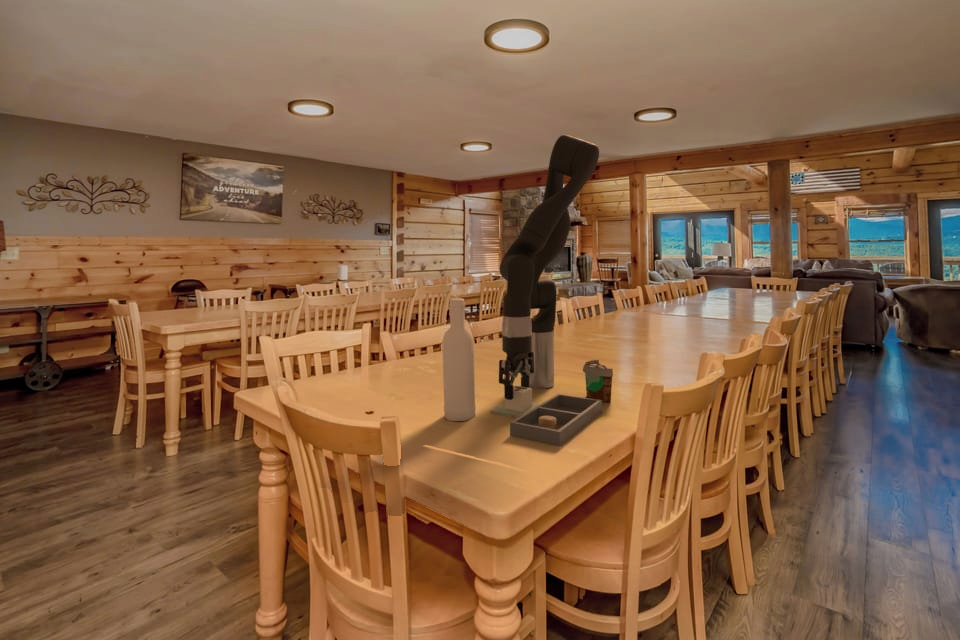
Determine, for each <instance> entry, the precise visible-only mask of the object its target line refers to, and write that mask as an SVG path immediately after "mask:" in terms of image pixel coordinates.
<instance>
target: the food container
mask: <svg viewBox="0 0 960 640" xmlns="http://www.w3.org/2000/svg"><path fill="white" fill-rule="evenodd" d="M582 372H583V373H584V376H585V388H586V389H585V391H586V398H590V399H597V400H602V403H608V404H609V403H612V389H613V388H612V384H613V377H614V372H613V368H607V367H606V366H605V365H603V364H601V363H600V360H599V359H593V360H588V361H585V363H584V364H583V367H582Z"/></svg>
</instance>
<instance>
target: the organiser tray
mask: <svg viewBox="0 0 960 640" xmlns="http://www.w3.org/2000/svg"><path fill="white" fill-rule="evenodd" d="M602 403H603V402H602V400H597V399H590V398H587V397H584V396H583V397H582V396H575V395H568V394H561V393H557V394H555V395H554V396H552V397H550V398H549V399H547V400H546V401H544V402H541V403H539V404H540V405H538V406H537V407H535V408H533V409H532V410H530V411H528V412H526V413H525V414H523V415H521V416H520V417H518V418H515V419H513V420H511V421H509V436H510V437H514V438H519V439H524V440H527V441H533V442H538V443H543V444H547V445H551V446H552V445H553V446H556V447H561V446H562V445H563V444H565V443H566V442H567V441H568V440H569V439H571V438H572V437H573V436H574V435H576V434H577V433H578V432H580V431H581V430H582V429H583V428H584V427H585V426H587V425H588V424H589V423H591V422H592V421H593V420H594V419H595V418H597V416H599V415H600V414H601V413H603V412H602V410H603V409H602V408H603V404H602ZM541 416H553V417H555V418H556V430H555V429H549V428H544V427H539V417H541Z"/></svg>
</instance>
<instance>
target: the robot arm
mask: <svg viewBox="0 0 960 640" xmlns="http://www.w3.org/2000/svg"><path fill="white" fill-rule="evenodd" d="M599 157H600V148H599V146H598V145H597V144H595V143H592V142H589V141H586V140H584V139H580V138H578V137H575V136H572V135H568V134H562V135H560V136H559V137H558V138H557V139H556V141H555V142H554V145H553V147H552V150H551V153H550V158H549V163H548V169H547V175H546V181H545V182H546V183H545V188H544V192H543V193H544V194H543V198H542V202H541V203H540V204H538V205H537V206H536V207H535V208H534V209H533V210H532V211H531V212H530V214H529V216H528V217H527V219H526V220H525V223H524V224H523V226H522V228H521V231H520V233H518V234H519V235H518V236H517V238H516V240H515V239H514V242H513V243H512V244H511V245H510V247H509V248H508V250H507V251H506V252H505V254H504V256H503V257H502V260H501V261H500V265H499V272H500V275H501V277H502V279H503V280H505V281H507V286H506V293H505V294H504V295H503V299H502V315H503V316H502V322H501V323H502V325H501V330H502V331H501V334H502V335H501V336H502V337H501V341H502V342H501V344H502V345H501V346H502V348H501V349H502V351H503V352H504V353H506V358H505V359H499V361H498V383H499V384H500V385H504V388H503V389H504V394H503V395H504V399H505V400H506V399H508V400H512V399H513V387H514V382H515V381H516V378H518V377H519V375H520V386H521V387H527V388H532V389H550V388H553V387H554V386H555V323H556V314H557V313H556V312H557V311H556V310H557V295H558V294H557V286H556V282H555V281H554V280H553V279H552V278H549V277H541V275H542V274H543V272H544V271H545V269H546V268H547V267H548V266H549V265H550V264H551V263H552V262H553V261H554V260H555V259H556V258H557V257H558V256H559V254H560V253H561V252H562V251H563V250H564V248H565V246H566V243H567V240H568V236H569V233H570V230H571V226H572V225H571V223H572V222H571V216H570V215H571V214H570V212H569V207H570V205H571V204H572V203H573V202H574V200H575V198H577V196H578V195H579V193H580V192H581V191H582V189H583V187H585V185H586V183H587V182H588V180H589V179H590V178H591V176H592V174H593V172H594V171H595V168H596V167H597V164H598V161H599ZM565 176H567V177H569V178H570V179H569V181H568V182H567V183H566V184H565V185H564V180H565V179H564V178H565ZM540 277H541V278H540ZM536 309H538V312H537V313H536V314H535V315H534V316H533V317H531V315H532V313H531V310H536Z"/></svg>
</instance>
